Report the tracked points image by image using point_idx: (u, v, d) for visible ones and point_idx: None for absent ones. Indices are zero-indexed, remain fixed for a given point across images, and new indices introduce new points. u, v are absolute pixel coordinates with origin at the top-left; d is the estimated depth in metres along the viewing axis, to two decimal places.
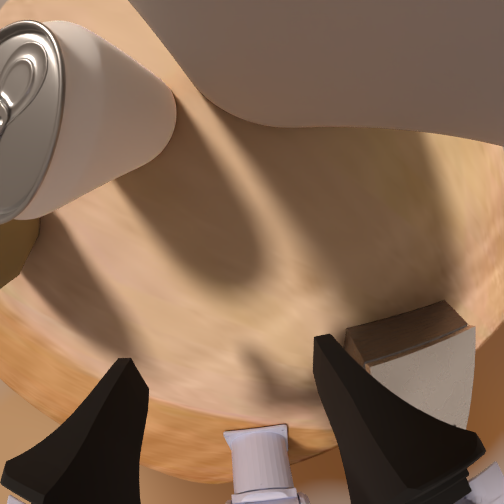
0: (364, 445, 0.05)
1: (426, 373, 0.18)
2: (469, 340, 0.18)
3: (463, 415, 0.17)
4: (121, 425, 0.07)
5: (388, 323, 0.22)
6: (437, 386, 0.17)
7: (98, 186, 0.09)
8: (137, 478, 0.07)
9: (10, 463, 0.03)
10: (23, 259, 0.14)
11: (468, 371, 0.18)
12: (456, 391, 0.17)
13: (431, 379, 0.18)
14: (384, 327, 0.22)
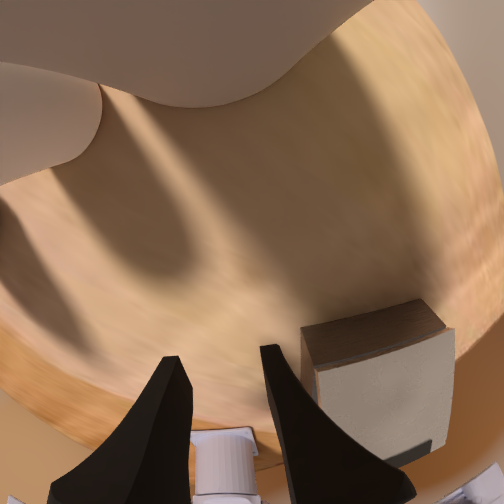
0: (287, 464, 0.05)
1: (391, 382, 0.16)
2: (447, 345, 0.17)
3: (441, 428, 0.16)
4: (174, 428, 0.07)
5: (349, 323, 0.21)
6: (406, 396, 0.16)
7: (6, 178, 0.08)
8: (188, 483, 0.07)
9: (57, 485, 0.03)
10: None
11: (446, 381, 0.16)
12: (431, 402, 0.16)
13: (398, 389, 0.16)
14: (344, 327, 0.21)
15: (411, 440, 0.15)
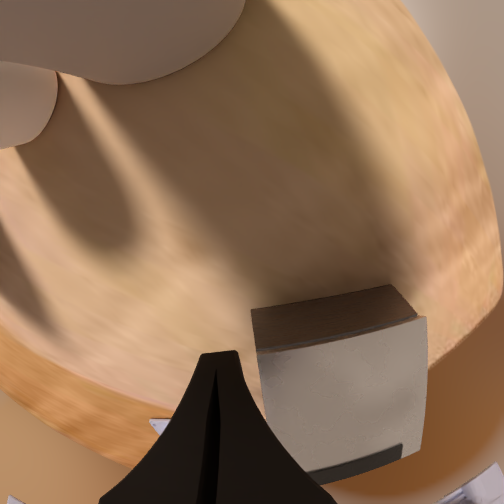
0: None
1: (346, 374, 0.15)
2: (417, 335, 0.16)
3: (413, 432, 0.15)
4: (219, 426, 0.07)
5: (304, 306, 0.20)
6: (366, 392, 0.15)
7: None
8: None
9: (107, 502, 0.03)
10: None
11: (418, 377, 0.15)
12: (399, 401, 0.15)
13: (356, 383, 0.15)
14: (297, 311, 0.20)
15: (376, 443, 0.15)
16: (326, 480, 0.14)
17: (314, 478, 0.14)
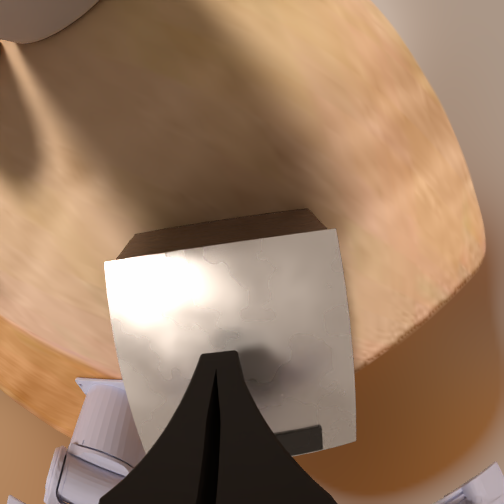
0: None
1: (209, 296, 0.13)
2: (322, 253, 0.13)
3: (339, 410, 0.12)
4: (219, 426, 0.07)
5: (188, 228, 0.17)
6: (243, 330, 0.13)
7: None
8: None
9: (107, 501, 0.03)
10: None
11: (332, 320, 0.13)
12: (304, 355, 0.12)
13: (225, 312, 0.13)
14: (178, 231, 0.17)
15: (275, 417, 0.12)
16: None
17: None
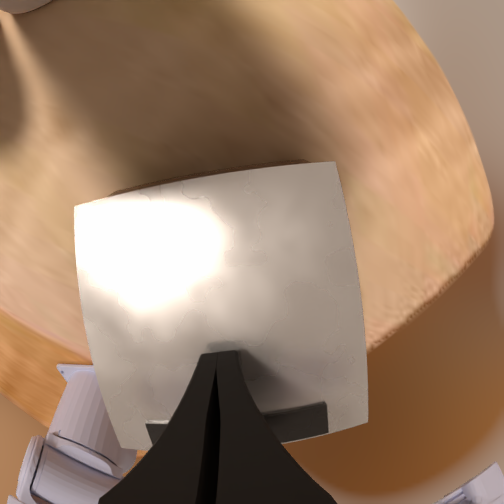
0: None
1: (187, 237, 0.11)
2: (320, 187, 0.11)
3: (347, 383, 0.10)
4: (218, 426, 0.07)
5: (172, 179, 0.15)
6: (228, 277, 0.11)
7: None
8: None
9: (107, 501, 0.03)
10: None
11: (336, 266, 0.11)
12: (303, 310, 0.10)
13: (206, 256, 0.11)
14: (160, 183, 0.15)
15: (268, 391, 0.10)
16: None
17: None
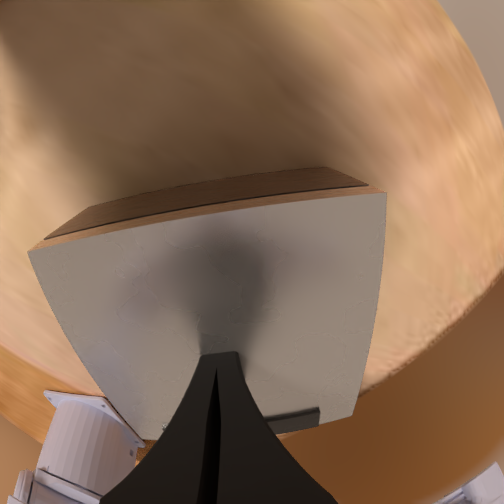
0: None
1: (181, 295, 0.08)
2: (359, 231, 0.08)
3: (341, 396, 0.11)
4: (219, 426, 0.07)
5: (156, 193, 0.12)
6: (234, 333, 0.09)
7: None
8: None
9: (108, 502, 0.03)
10: None
11: (355, 317, 0.09)
12: (312, 354, 0.10)
13: (208, 315, 0.09)
14: (141, 198, 0.11)
15: (271, 406, 0.11)
16: None
17: None
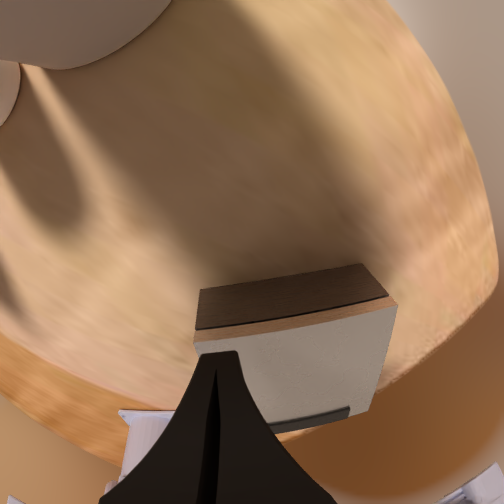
0: None
1: (294, 358, 0.15)
2: (382, 323, 0.15)
3: (362, 399, 0.18)
4: (219, 426, 0.07)
5: (258, 286, 0.19)
6: (315, 371, 0.16)
7: None
8: None
9: (107, 501, 0.03)
10: None
11: (375, 358, 0.16)
12: (351, 378, 0.17)
13: (305, 365, 0.16)
14: (249, 290, 0.18)
15: (323, 407, 0.18)
16: (274, 432, 0.19)
17: None
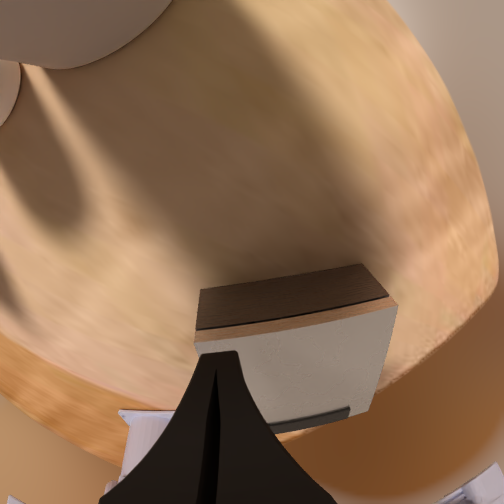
0: None
1: (294, 358, 0.15)
2: (382, 323, 0.15)
3: (363, 399, 0.18)
4: (219, 426, 0.07)
5: (258, 286, 0.19)
6: (315, 372, 0.16)
7: None
8: None
9: (107, 501, 0.03)
10: None
11: (375, 359, 0.16)
12: (351, 378, 0.17)
13: (305, 365, 0.16)
14: (249, 291, 0.18)
15: (324, 407, 0.18)
16: (274, 432, 0.19)
17: None
